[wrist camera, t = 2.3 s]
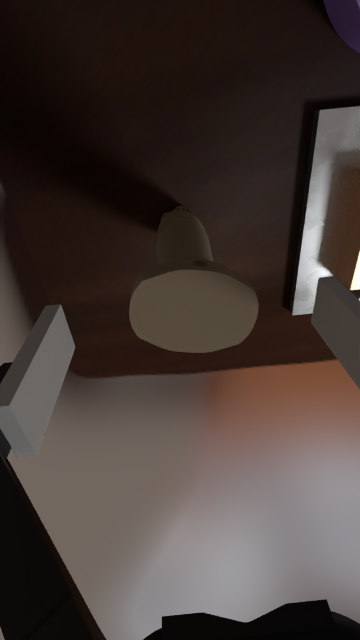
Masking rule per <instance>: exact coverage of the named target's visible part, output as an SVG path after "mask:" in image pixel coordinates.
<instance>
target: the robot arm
mask: <svg viewBox="0 0 360 640" xmlns="http://www.w3.org/2000/svg"><path fill="white" fill-rule="evenodd" d="M311 323H312V325H313V326H314V327H315V329H316V330H317V332H318V333H319V334H320V336H321V337H322V338H323V340H324V341H325V342H326V344H327V345H328V347H329V348H330V349H331V351H332V352H333V353H334V355H335V356H336V358H337V359H338V360H339V362H340V363H341V364H342V366H343V367H344V369H345V370H346V371H347V372H348V374H349V375H350V377H351V378H352V379H353V381H354V382H355V384H356V385H357V386H358V388H359V389H360V300H359V299H358V298H357V297H356V296H355V295H354V294H353V293H351V292H350V291H349V290H348V289H347V288H346V287H345V286H344V285H343V284H342V283H341V282H340V281H339V280H337V279H336V278H335V277H334V276H329V277H320V278H319V279H318V285H317V291H316V296H315V302H314V308H313V314H312V320H311ZM74 350H75V345H74V342H73V339H72V336H71V333H70V330H69V327H68V324H67V321H66V318H65V315H64V312H63V310H62V307H61V304H60V305H51V306H45V308H44V310H43V312H42V313H41V316H40V317H39V319H38V320H37V322H36V324H35V325H34V327H33V329H32V331H31V332H30V334H29V336H28V337H27V339H26V341H25V343H24V344H23V346H22V348H21V349H20V351H19V353H18V354H17V356H16V358H15V360H14V361H13V362H10V363H4V364H3V365H1V366H0V627H1V630H2V633H3V636H4V639H5V640H106V638H105V637H104V635H103V633H102V632H101V630H100V628H99V627H98V625H97V623H96V621H95V619H94V618H93V616H92V614H91V612H90V610H89V608H88V606H87V605H86V603H85V601H84V599H83V597H82V595H81V594H80V592H79V590H78V588H77V586H76V584H75V583H74V581H73V579H72V577H71V575H70V573H69V571H68V570H67V568H66V566H65V564H64V562H63V560H62V558H61V557H60V555H59V553H58V551H57V549H56V547H55V545H54V544H53V542H52V540H51V538H50V536H49V534H48V533H47V531H46V529H45V527H44V525H43V523H42V522H41V520H40V518H39V516H38V514H37V512H36V510H35V509H34V507H33V505H32V503H31V501H30V499H29V497H28V496H27V494H26V492H25V490H24V488H23V486H22V484H21V483H20V481H19V479H18V477H17V475H16V474H15V471H14V470H13V468H12V466H11V464H10V462H9V461H8V459H7V456H8V454H9V452H10V449H12V450H13V452H14V454H15V455H16V457H27V456H36V455H37V454H38V451H39V448H40V446H41V443H42V440H43V437H44V434H45V431H46V429H47V426H48V423H49V420H50V417H51V415H52V411H53V409H54V406H55V403H56V400H57V398H58V394H59V392H60V389H61V386H62V383H63V380H64V378H65V375H66V372H67V369H68V367H69V364H70V361H71V358H72V355H73V352H74ZM144 640H360V624H359V623H357V622H355V621H353V620H352V619H350V618H348V617H346V616H343V615H341V614H338V613H335V612H332V611H330V608H329V605H328V602H327V600H317V601H307V602H298V603H288V604H285V605H283V606H281V607H279V608H277V609H275V610H273V611H271V612H269V613H267V614H265V615H263V616H261V617H259V618H257V619H255V620H253V621H250V622H245V623H244V622H239V621H235V620H231V619H227V618H223V617H219V616H215V615H211V614H206V613H192V614H183V615H173V616H165V617H162V628H161V629H159V630H156V631H154V632H153V633H152V634H150V635H149V636H147V637H146V638H145V639H144Z"/></svg>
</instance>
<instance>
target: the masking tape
mask: <svg viewBox="0 0 360 640" xmlns="http://www.w3.org/2000/svg"><path fill="white" fill-rule="evenodd" d="M324 4H325V8H326V11H327V14H328V17H329V19H330V21H331V23H332V25H333V27H334V29H335V31H336V32H337V34H338V35H339V37H340V38H341V39H342V40H343V41H344V42H345V43H346V44H347V45H348V46H349V47H350V48H352V49H353V50H355V51H356V52H358V53H360V0H324Z"/></svg>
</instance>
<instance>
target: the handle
mask: <svg viewBox="0 0 360 640" xmlns="http://www.w3.org/2000/svg"><path fill="white" fill-rule="evenodd" d="M156 254H157V260H158V266H155V267H153V268H150V269H148V270H145V271H144V272H143V273H142V274H141V275H140V276H139V278H138V279H137V281H136V282H135V285H134V288H133V291H132V295H131V301H130V309H129V314H130V322H131V326H132V328H133V330H134V332H135V333H136V335H137V336H138V337H139V338H141V339H143V340H145V341H147V342H149V343H152V344H154V345H156V346H158V347H161V348H164V349H167V350H170V351H177V352H193V353H206V352H212V351H216V350H220V349H223V348H227V347H230V346H233V345H237V344H239V343H241V342H242V341H243V340H244V339H245V338H246V337H247V336H248V335H249V333H250V332H251V330H252V328H253V326H254V324H255V321H256V319H257V314H258V300H257V296H256V294H255V291H254V289H253V287H252V285H251V284H250V282H249V281H248V280H247V279H245V278H244V277H242V276H241V275H239V274H238V273H236V272H234V271H233V270H231V269H229V268H227V267H225V266H223V265H221V264H218V263H215V262H213V259H212V254H211V248H210V243H209V239H208V236H207V233H206V231H205V229H204V227H203V225H202V224H201V222H200V221H199V220H198V219H197V217H196V216H195V215H193V214H192V213H190V212H189V211H187V210H186V208H185V207H183V206H177V207H176V209H174V210H173V211H171V212H165V213H164V214H163V216H162V218H161V223H160V225H159V227H158V230H157V235H156Z"/></svg>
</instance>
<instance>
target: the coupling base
mask: <svg viewBox="0 0 360 640" xmlns="http://www.w3.org/2000/svg"><path fill="white" fill-rule="evenodd" d="M329 276H334V277H335V278H336V279H337V280H339V281H340V282H341V283H342V284H343V285H344V286H345V287H346V288H347V289H348V290H349V291H350V292H351V293H353V294H354V295H355V296H356V297H357V298H358V299H359V300H360V105H359V106H350V107H340V108H330V109H321V110H314V116H313V124H312V132H311V140H310V148H309V156H308V164H307V172H306V180H305V188H304V196H303V203H302V211H301V219H300V227H299V235H298V243H297V251H296V259H295V267H294V275H293V283H292V290H291V298H290V306H289V311H290V313H291V314H292V315H300V314H310V313H313V308H314V302H315V296H316V291H317V285H318V279H319V278H320V277H329Z"/></svg>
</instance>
